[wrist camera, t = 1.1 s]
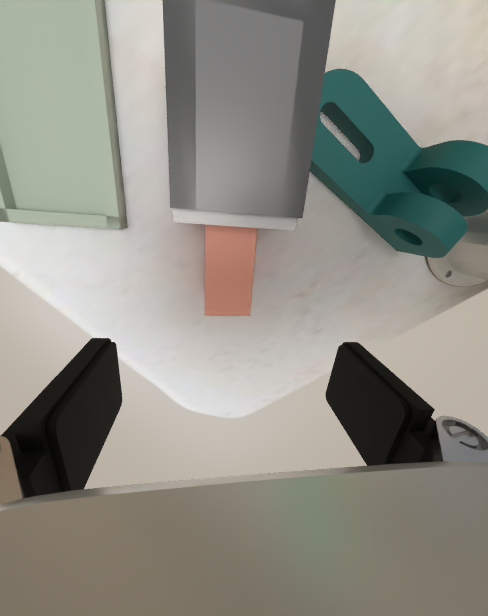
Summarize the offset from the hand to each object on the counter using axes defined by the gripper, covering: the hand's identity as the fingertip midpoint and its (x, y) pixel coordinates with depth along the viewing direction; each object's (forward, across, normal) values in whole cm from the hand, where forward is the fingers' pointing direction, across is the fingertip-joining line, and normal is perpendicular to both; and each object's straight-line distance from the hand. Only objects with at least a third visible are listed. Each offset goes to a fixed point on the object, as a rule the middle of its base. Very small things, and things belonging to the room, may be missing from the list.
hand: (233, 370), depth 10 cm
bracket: (+17, -14, -11) cm, 25 cm away
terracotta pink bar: (+17, 0, -6) cm, 18 cm away
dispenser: (+17, 0, -11) cm, 20 cm away
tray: (+17, +14, -14) cm, 26 cm away
